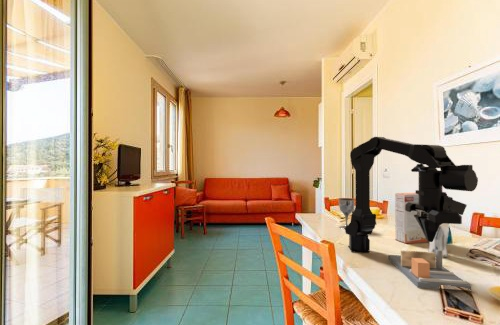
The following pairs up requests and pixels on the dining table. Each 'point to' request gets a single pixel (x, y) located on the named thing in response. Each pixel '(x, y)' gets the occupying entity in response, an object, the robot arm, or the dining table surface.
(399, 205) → the cracker box
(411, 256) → the two-tone tan block
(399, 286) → the dining table surface
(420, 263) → the fader
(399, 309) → the dining table surface
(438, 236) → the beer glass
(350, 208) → the wine glass
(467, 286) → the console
